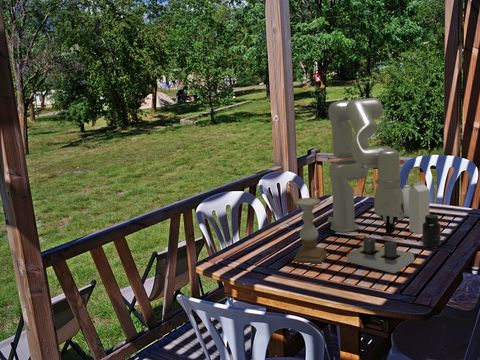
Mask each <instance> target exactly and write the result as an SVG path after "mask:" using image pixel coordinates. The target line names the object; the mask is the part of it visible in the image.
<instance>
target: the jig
mask: <svg viewBox="0 0 480 360" xmlns="http://www.w3.org/2000/svg"><path fill="white" fill-rule="evenodd" d="M362 241H363V243H362V246H360V247H358V248H356V249H355V250H352V251H350V252H349V253H346V262H347V261H348V262H347V263H350V262H351V263H350V264H354V263H355V265H359V266H363V267H366V268H369V269H370V268H371V269H375V270H380V271H383V272H387V273H391V274H396V273H398V272H400V271H401V270H403V269H404V268H405V267H407V266H409V265H410V264H412V263H414V262H415V254H414V253H412V252H407V251H403V250H398V249H397V259H395V260H390V259H385V255H384V246H383V247H382V246H378V245H376V238H374V237H363V240H362Z"/></svg>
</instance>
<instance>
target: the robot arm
mask: <svg viewBox="0 0 480 360" xmlns="http://www.w3.org/2000/svg"><path fill="white" fill-rule="evenodd" d="M327 111H328V118H329V121H330V124H331V129H332V131H331V132H332V134H331V135H332V136H331V138H332V141H331V142H332V143H331V144H332V154H333V156H334V158H336V159H341V160H335V161H334V162H332V163H331V164H330V165H329V167H328V172H329V173H328V174H329V179H330V183H331V193H332V211H333V212H332V213H333V215H332V216H328V219H327V223H331V225H330V230H331V231H333V230H334V232H338V233H351V232H354V231H357V230H359V224H358V223H356V218H355V217H356V216H355V192H354V189H353V187H352V185H350V184H349V183H348V182H351V181H358V180H364V179H366V178H367V177H368V175H369V170H370V169H374V168H377V179H376V180H375V184H377V186H376V188H375V191H374V199H373V200H374V205H373V209H374V213H375V214H376V216H377V217H379V218H381V219H382V220H383V223H384V224H385V228H384V229H385V233H386V234H387V235H388V234H389V235H392V234H394V233H395V231H396V222H397V221H398V220H399V221H401V220H403V219H404V218H405V216H404V215H403V214H404V197H403V192H402V189H403V188H402V187H401V180H400V179H401V178H400V176H401V175H400V154H399V153H400V152H399V151H398V150H397V149H393V148H392V147H390V146H388V145H385V146H373V147H370V146H369V145H370V144H369V141H368V139H369V138H371V137H372V136H374V135H375V133H376V132H377V131H378V130H377V129H378V126H377V123H376V122H375V119H379V118H381V117H382V115H383V113H384V107H383V104H382V101H381V100H380V99H379V98H377V97H367V98H358V99H357V98H356V99H346V100H345V99H344V100H338V101H334V102H332V103H330V105H329V106H328V110H327ZM353 131H354V134H353ZM347 158H353V159H347Z"/></svg>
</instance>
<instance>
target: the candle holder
mask: <svg viewBox="0 0 480 360" xmlns="http://www.w3.org/2000/svg"><path fill="white" fill-rule="evenodd" d="M321 202H322V201H321V199H319V198H315V197H304V198H298V199H296V200H294V201H293V205H294V206H296V207H300V209H301V210H302V214H301V220H302V221H303V226H302V228H301V229H300V232H299V236H300V239H301V240H302V241H301V246H302V247H301V248H299V249H298V251H297V253H296V255H295V257H294V258H293V263H294V262H297V263H311V264H322V262H323V261H324V262H325V260H326V258H327V256H328V253H327V251H326V250H325V248H323V247H318V246H317V245H318V241H317V239H318V237H319V231H318V229H317V228H316V226H315V225H314V223H313V222H314V219H315V215H314V213H313V209H314V208H315V207H316V206H318V205H320V204H321ZM326 255H327V256H326ZM325 257H326V258H325ZM324 259H325V260H324ZM324 262H323V263H324ZM322 265H323V264H322Z"/></svg>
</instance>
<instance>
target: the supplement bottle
mask: <svg viewBox="0 0 480 360" xmlns="http://www.w3.org/2000/svg"><path fill="white" fill-rule="evenodd" d="M425 221H426V222H424V223H423V233H422V245H423V246H424V247H427V248H438V247H440V246H441V243H442V242H441V237H442V235H441V233H442V232H441V230H442V229H441V227H442V226H441V225H442V224H441V223H440V222H439V216H438V215H437V214H429V215H426V216H425Z"/></svg>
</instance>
